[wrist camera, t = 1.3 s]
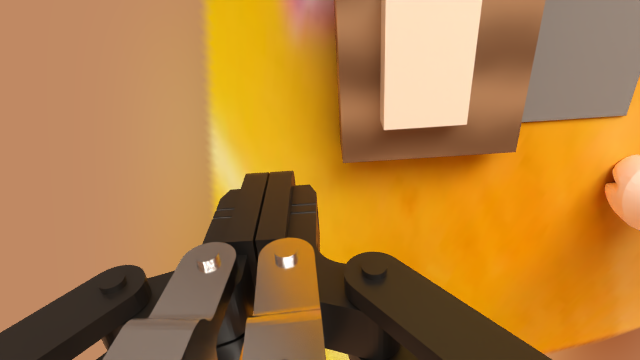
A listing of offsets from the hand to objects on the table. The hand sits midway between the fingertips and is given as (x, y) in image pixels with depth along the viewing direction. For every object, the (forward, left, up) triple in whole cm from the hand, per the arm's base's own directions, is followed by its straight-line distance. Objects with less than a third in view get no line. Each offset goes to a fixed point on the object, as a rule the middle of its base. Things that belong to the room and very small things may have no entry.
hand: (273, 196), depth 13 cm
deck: (0, +10, -22) cm, 24 cm away
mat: (-1, +23, -22) cm, 31 cm away
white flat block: (0, +9, -18) cm, 20 cm away
